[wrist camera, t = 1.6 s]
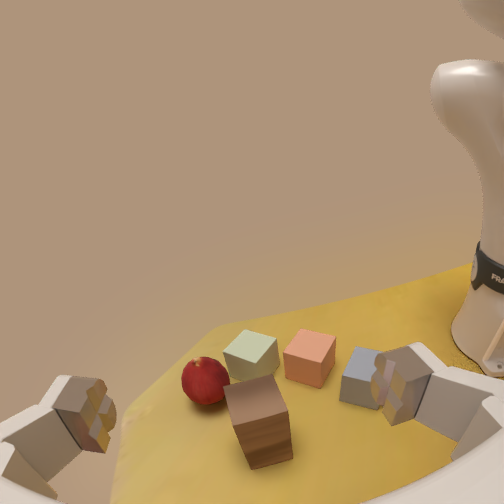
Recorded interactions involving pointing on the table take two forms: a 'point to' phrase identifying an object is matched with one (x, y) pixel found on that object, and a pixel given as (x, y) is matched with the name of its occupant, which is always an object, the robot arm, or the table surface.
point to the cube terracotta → (309, 357)
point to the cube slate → (359, 378)
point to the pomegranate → (204, 380)
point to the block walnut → (260, 421)
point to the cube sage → (252, 356)
